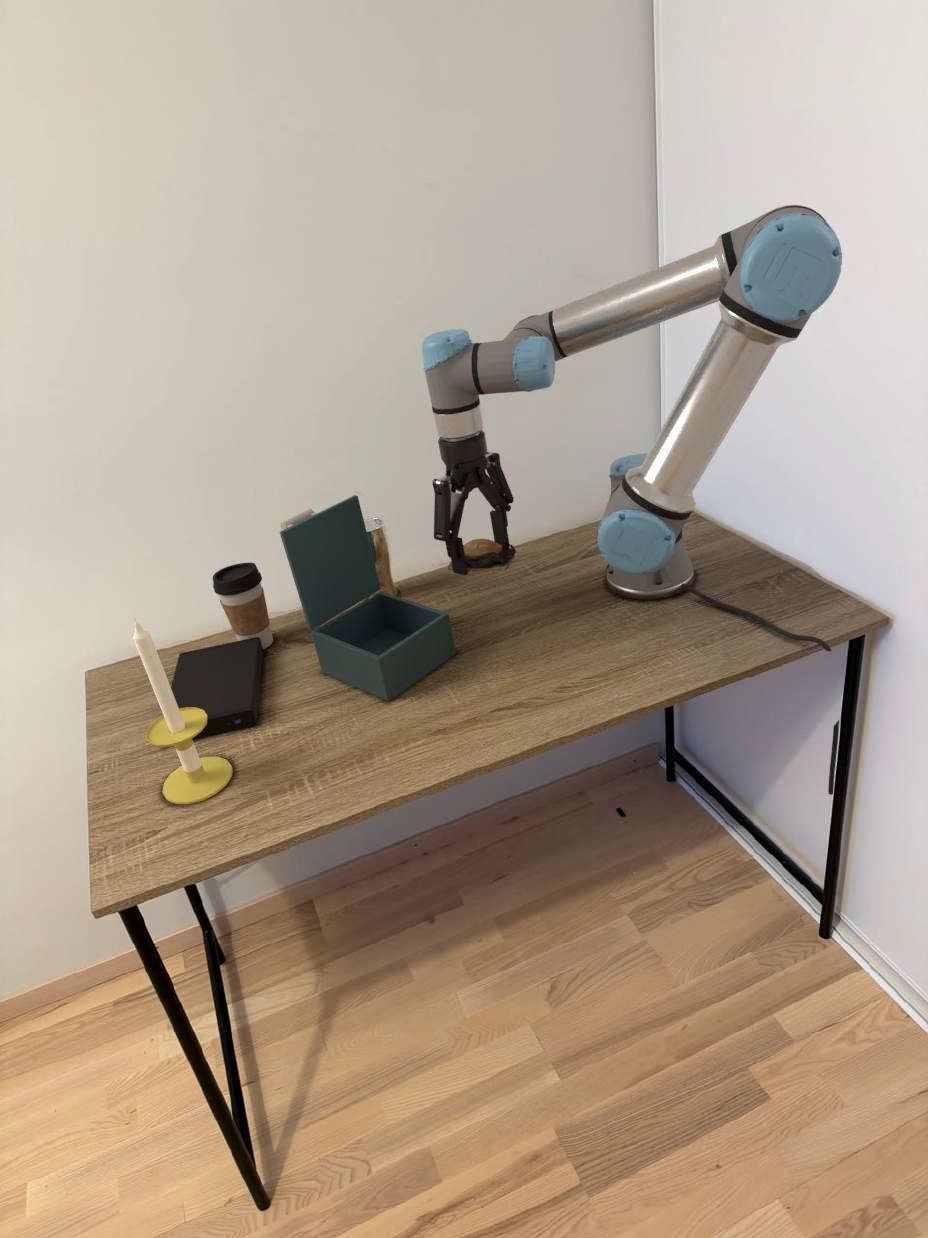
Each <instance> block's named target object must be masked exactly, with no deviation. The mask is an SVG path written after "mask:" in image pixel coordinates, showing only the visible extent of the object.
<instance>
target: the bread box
mask: <svg viewBox="0 0 928 1238" xmlns="http://www.w3.org/2000/svg"><path fill="white" fill-rule="evenodd" d="M310 634H311V637H312V640H313V644H314V648H315V652H316V656H317V658H318V662H319V666H320V670H321V672H322V673H324V674H326V675H328V676H331V677H332V678H335V679H336V680H340V681H342V682H344V683H346V684H348V685H351V686H353V687H354V688H357V689H359V690H362V691H365V692H366V693H367V694H371V695H373V696H375V697H377V698H379V699H381V700H384V701H386V702H390V701H391V700H393V699H395V698H396V697H397V696H398V695H400V694H402V693H403V692H404V691H405V690H407V689H409V688H410V687H412V686H413V685H414V684H415V683H417V682H419V681H420V680H421V679H423V678H424V677H425V676H427V675H428V674H430V673H431V672H432V671H434V670H436V669H437V668H438V667H439V666H441V665H442V664H444V663H445V662H446V661H448V660H449V659H451V658H452V657H454V656H455V655H457V654H456V653H457V652H456V646H455V641H454V636H453V630H452V624H451V620H450V613H448V612H445V611H442V610H439V609H436V608H433V607H430V606H427V605H424V604H421V603H418V602H415V601H412V600H409V599H406V598H402V597H400V596H398V595H397V596H394V595H390V594H387V593H384V592H381V591H380V592H378V593H377V594H375V595H373V596H371V597H370V598H368V599H367V598H365V599H364V600H362V601H360V602H359V603H357V604H355V605H354V606H352V607H350V608H349V609H347V610H345V611H344V612H342V613H340V614H339V615H337V616H335V617H333V618H332V619H330V620H328V621H327V622H325V623H323V624H322V625H320V626H318V627H317V628H315V629H313V630H312V631H311V633H310Z"/></svg>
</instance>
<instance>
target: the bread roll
mask: <svg viewBox="0 0 928 1238" xmlns="http://www.w3.org/2000/svg"><path fill="white" fill-rule="evenodd" d="M505 546H508V548H506V547H505ZM509 546H510V547H509ZM463 547H464V552H465V558H466V563H467V569H468V572H486V573H488V572H490V571H491V572H494V571H497V572H502V571H507V570H508V569H509V568H510V566H511V564H512V563H513V560H515V555H516V553H517V549H516V548H515V547H514V546H513V544H510V542H509V543H507V542H503V543H502V544H501V545H500V544H498V543H496V542H495V541H494V540H492V539H489V538H474V539H471V540H469V541H468V542H466V543H465V544H463ZM447 571H453V567H452V561H451V560H450V562H449V564H448V565H447Z"/></svg>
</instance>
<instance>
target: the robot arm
mask: <svg viewBox="0 0 928 1238" xmlns="http://www.w3.org/2000/svg"><path fill="white" fill-rule="evenodd" d="M840 242H841V241H840V239H839V237H838V236H837V234H836V232H835V230H834V229H833V228H832V226H831V225H830V224H829V223H828V222H827V219H825V218H824V216H822V214H821V213H819V212H818V211H817V210H815V209H813V208H812V207H811V208H810V207H808V206H805V205H801V204H800V205H799V204H787V205H784V206H783V205H782V206H780V207H776V208H774V209H772V210H770V211H768V212H765V213H763V214H762V215H760V216H758V217H756V218H754V219H752V220H751V221H749V222H747V223H745V224H743V225H740V226H738V227H737V228H734V229H732V230H729V231H726V232H725V233H722V234H720V235H718V236H717V238H716V240H715V243H714V244H713V245H711V246H709V247H707V248H704V249H702V250H700V251H696V252H694V253H692V254H689V255H687V256H685V257H682V258H679V259H677V260H674V261H672V262H669V263H667V264H664V265H662V266H659V267H657V268H654V269H652V270H649V271H647V272H645V273H642V274H640V275H637V276H635V277H631V278H629V279H626V280H624V281H622V282H619V283H617V284H615V285H612V286H609V287H607V288H604V289H602V290H599V291H597V292H594V293H591V294H589V295H586V296H584V297H582V298H579V299H576V300H575V301H574V300H573V301H572V302H569V303H567V304H564V305H561V306H559V307H556V308H554V309H553V310H550V311H547V312H544V313H542V314H532V315H530V316H526V317H525V318H523V319H521V320H519V321H518V322H517V324H516V325H514V327H513V328H512V330H511V331H510V332H509V333H508V334H507V335H506V336H505V337H504V338H503V339H502V340H495V341H487V342H472V339H471V336H470V333H469V332H468V331H467V330H465V329H461V328H459V329H446V330H442V331H437V332H434V333H431V334H429V335H428V336H426V337H424V339H423V340H422V342H421V353H422V360H423V371H424V375H425V378H426V384H427V388H428V389H427V390H428V394H429V398H430V399H429V400H430V403H431V409H432V416H433V421H434V426H435V431H436V432H435V433H436V435H437V436H438V437H439V438H438V440H437V444H438V449H439V454H440V455H439V456H440V459H441V461H442V462H443V463H444V465H445V473H444V474H445V475H444V476H442V477H441V478H434V479H433V480H432V488H433V492H434V507H433V508H434V511H433V513H434V515H433V539H434V540H436V541H441V542H445V543H444V544H445V548H446V554H447V556H448V558H449V559H450V562H451V561H452V567H453V570H452V572H453V573H454V574H458V575H461V576H468V575H469V571H468V569H467V563H466V558H465V552H464V547H463V545H464V541H463V538H462V537H459V533H460V529H461V528H460V527H461V525H462V524H461V523H462V518H463V514H464V509H465V504H466V500H468V499H469V495H470V493H471V492H472V491H473V490H475V489H478V490H479V492H480V493H481V494H482V496H483V497H484V498H485V500H486V501H487V502H488V504H489V505H490V507H491V508H492V510H491V511H489V516H490V522H491V529H492V534H493V541H494V542H496V543H498V544H500V545H501V544H502V543H503V542H507V543H509V544H510V539H509V533H508V527H509V522H508V515H507V513H508V512H511V510H512V505H510V504H513V503H514V500H515V499H514V496H513V493H512V490H511V487H510V485H509V483H508V480H507V478H506V475H505V473H504V470H503V468H502V465H501V456H500V454H499V453H498V452H493V451H488V445H487V440H486V433H485V431H483V429H484V427H485V425H484V420H483V414H482V407H481V400H480V395H492V394H506V393H518V392H526V393H527V392H528V393H530V392H533V391H537V390H542V389H547V388H550V387H551V386H552V385H553V383H554V381H555V375H556V362H559V361H560V360H563V359H565V358H568V357H571V356H572V355H576V354H578V353H582V352H584V351H587V350H589V349H592V348H595V347H597V346H601V345H603V344H605V343H608V342H611V341H614V340H616V339H619V338H622V337H624V336H627V335H630V334H633V333H636V332H638V331H641V330H643V329H647V328H649V327H652V326H654V325H657V324H661V323H663V322H666V321H669V320H671V319H674V318H676V317H679V316H682V315H685V314H688V313H690V312H694V311H695V310H698V309H701V308H703V307H707V306H709V305H712V304H715V303H717V304H718V307H719V311H720V320H719V322H718V324H717V325H716V327H715V329H714V330H713V333H712V335H711V337H710V338H709V340H708V342H707V344H706V346H705V347H704V350H703V351H702V353H701V355H700V357H699V358H698V361H697V363H696V364H695V365H694V368H693V370H692V372H691V373H690V375H689V377H688V379H687V381H686V383H685V385H684V387H682V388H683V389H682V390H681V392H680V393H679V396H678V397H677V400H676V401H675V403H674V405H673V407H672V409H671V410H670V412H669V414H668V416H667V418H666V420H665V422H664V424H663V425H662V427H661V429H660V431H659V433H658V434H657V437H656V438H655V440H654V442H653V444H652V446H651V448H650V450H649V452H647V453H637V454H629V455H626V456H622V457H619V458H617V459H615V460H613V462H612V463H611V464H610V467H609V475H608V477H609V478H610V495H609V498H608V502H607V503H606V507H605V510H604V513H603V516H602V518H601V519H602V520H601V521H600V523H599V525H598V528H597V547H598V550H599V553H600V555H601V557H602V558H603V560H604V561H605V562H606V563H607V566H606V569H605V571H606V583H607V584H606V585H607V586H608V588H609V589H610V590H611V591H612V592H614V593H615V594H617V595H619V596H622V597H624V598H628V599H633V600H642V601H643V600H644V601H645V600H650V601H651V600H661V599H666V598H670V597H673V596H676V595H678V594H681V593H683V592H684V591H688V592H690V593H691V594H693V595H695V596H697V597H698V598H699V599H702V600H703V601H705V602H708V603H710V604H711V605H714V606H716V607H718V608H722V609H725V610H727V611H731V612H734V613H736V614H741V615H743V616H746V617H748V618H750V619H753V620H755V621H757V622H759V623H761V624H762V625H764V626H766V627H767V628H768V629H770V630H772V631H774V632H776V633H778V634H780V635H782V636H784V637H787V638H790V639H792V640H797V641H804V642H805V641H806V642H814V643H816V644H818V645H819V646H821V647H822V648H823V649H824V650H825V651H826V652H832V651H833V650H832V648H831V647H830V646H829V645H828V643H827V642H825V641H824V640H822V639H821V638H818V637H817V636H811V635H801V634H800V635H799V634H794V633H792V632H789V631H786V630H784V629H782V628H780V627H779V626H777V625H775V624H773V623H771V622H770V621H768V620H766V619H764V618H763V617H761V616H759V615H757V614H755V613H752V612H749V611H747V610H744V609H742V608H738V607H735V606H732V605H728V604H725V603H723V602H720V601H718V600H715V599H713V598H711V597H709V596H707V595H706V594H703V592H701V591H699V590H696V589H695V588H693V587H691V586H692V584H693V583H694V580H695V571H694V569H695V568H694V564H693V562H692V561H691V559H690V554H689V552H688V550H687V547H686V544H685V542H684V539H683V529H684V527H685V525H686V523H687V522H688V520H689V518H690V516H691V515H692V514H693V512H694V510H695V508H696V500H695V497H694V493H693V491H694V490H695V488H696V487H697V485H698V484H699V482H700V480H701V478H702V476H703V475H704V473H705V471H706V470H707V469H708V467H709V465H710V464H711V461H712V460H713V458H714V456H715V455H716V453H717V451H718V450H719V448H720V446H721V444H722V443H723V441H724V440H725V438H726V436H727V434H728V433H729V431H730V430H731V428H732V426H733V425H734V422H735V421H736V420H737V418H738V416H739V415H740V413H741V412H742V409H743V407H744V406H745V404H746V403H747V401H748V399H749V398H750V396H751V394H752V393H753V391H754V389H755V387H756V385H757V384H758V382H759V381H760V379H761V377H762V376H763V374H764V372H765V371H766V369H767V368H768V365H769V364H770V362H771V360H772V359H773V357H774V355H775V354H776V352H777V350H778V349H779V347H781V346H782V345H784V344H788V343H791V342H793V341H796V340H797V339H798V338H799V336H800V335H801V332H802V331H803V329H804V328H805V327H806V324H807V322H808V321H809V320H810V318H811V316H812V314H814V312H816V311H817V310H818V309H819V308H821V307H822V306H823V305H824V304H825V303H826V302H827V300H828V299H829V298H830V297H831V295H832V294H833V292H834V290H835V289H836V286H837V284H838V281H839V279H840V276H841V272H842V265H843V253H842V246H841V243H840ZM459 492H460V493H459ZM505 547H506V548H508V546H505ZM509 548H511V547H510V546H509ZM839 732H840V719H838V720H837V721H836V723H835V724H834V725H833V731H832V742H831V743H832V744H831V752H830V753H831V754H830V761H829V762H830V764H829V772H828V774H829V776H828V788H827V789H828V791H827V792H828V795H831V796H833V795H834V787H835V786H834V785H835V771H836V763H837V762H836V761H837V755H838V743H839Z"/></svg>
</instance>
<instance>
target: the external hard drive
mask: <svg viewBox="0 0 928 1238" xmlns="http://www.w3.org/2000/svg"><path fill="white" fill-rule="evenodd" d="M263 658H264V649H263V647H262V644H261V640H260V638H259V637H255V638H250V639H245V640H241V641H238V640H237V641H232V642H226V643H221V644H218V645H213V646H208V647H203V648H198V649H194V650H189V651H184V652H180V653H179V655H178V658H177V662H176V666H175V669H174V673H173V677H172V682H171V685H170V687H171V690H172V692H173V695H174V697H175V700H176V703H177V705H178V708H179V709H181V708H185V707H196V708H199V709H202V710H204V711H205V713H206V714H207V715H208V719H207V724H206V726H205V727H204V729H203V730H202V731H201V732H200V733H199V734H197V735H196V736H195V737H194V738H192V740H193V741H194V740H196V739H197V740H198V739H201V738H202V739H203V738H206V737H210V736H215V735H219V734H225V733H229V732H232V731H234V732H235V731H238V730H242V729H248V728H252V727H256V726H258V725H257V723H258V714H259V713H258V712H259V702H260V690H261V681H262V669H263Z"/></svg>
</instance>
